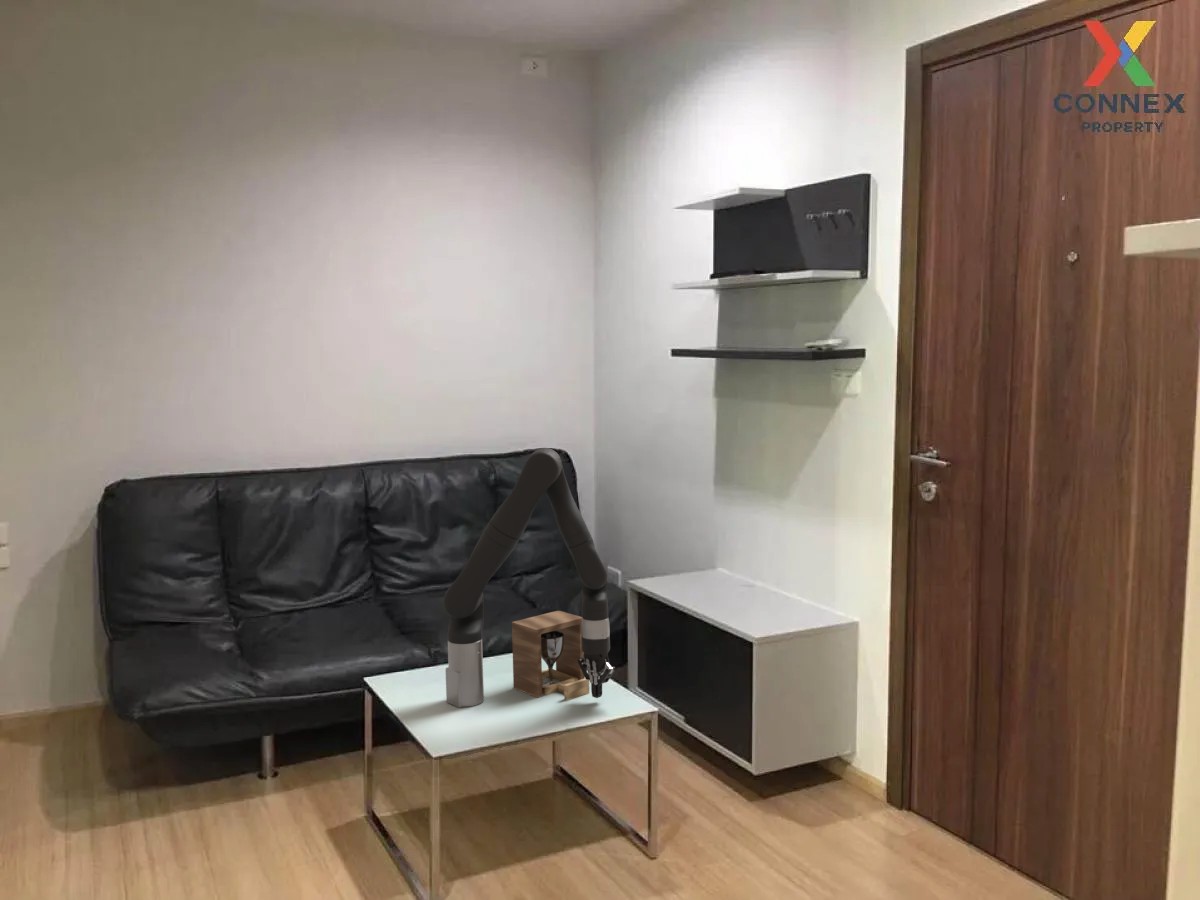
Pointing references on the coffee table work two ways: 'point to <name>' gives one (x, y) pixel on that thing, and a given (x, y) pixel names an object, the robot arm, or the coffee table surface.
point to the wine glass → (551, 650)
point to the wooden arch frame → (529, 649)
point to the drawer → (565, 685)
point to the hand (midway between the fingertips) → (597, 696)
